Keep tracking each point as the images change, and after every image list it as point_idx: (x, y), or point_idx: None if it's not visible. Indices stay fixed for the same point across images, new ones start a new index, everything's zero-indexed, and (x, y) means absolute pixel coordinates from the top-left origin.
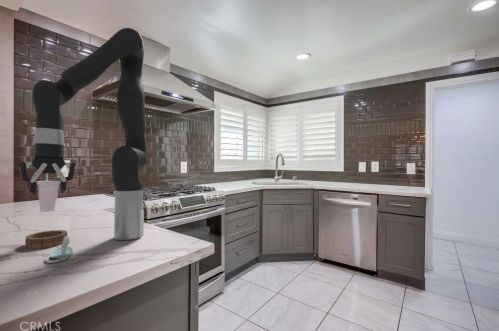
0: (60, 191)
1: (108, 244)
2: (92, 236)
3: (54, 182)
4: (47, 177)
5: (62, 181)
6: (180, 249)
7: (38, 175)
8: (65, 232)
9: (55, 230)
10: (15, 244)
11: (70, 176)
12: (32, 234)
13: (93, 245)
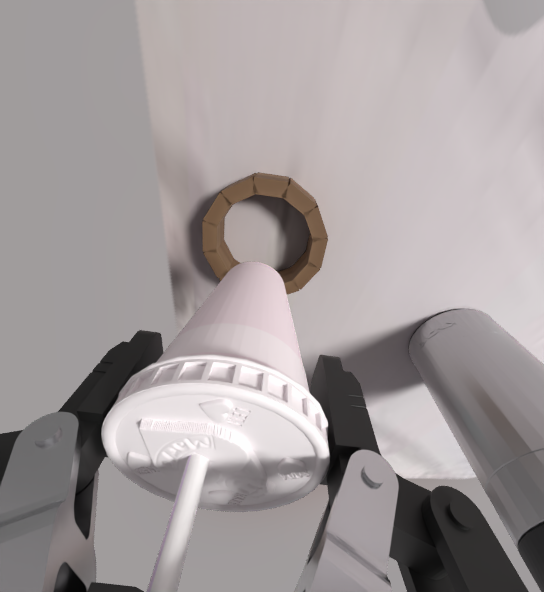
0: (315, 380)
1: (372, 361)
2: (397, 255)
3: (254, 502)
4: (189, 518)
5: (330, 495)
6: (428, 463)
7: (86, 578)
8: (316, 262)
9: (301, 196)
10: (184, 158)
11: (421, 584)
12: (223, 203)
13: (346, 344)
